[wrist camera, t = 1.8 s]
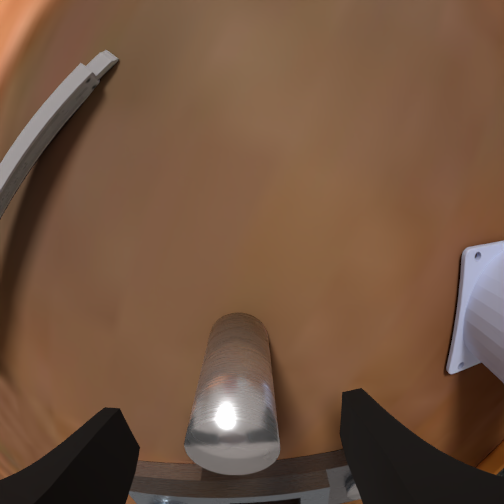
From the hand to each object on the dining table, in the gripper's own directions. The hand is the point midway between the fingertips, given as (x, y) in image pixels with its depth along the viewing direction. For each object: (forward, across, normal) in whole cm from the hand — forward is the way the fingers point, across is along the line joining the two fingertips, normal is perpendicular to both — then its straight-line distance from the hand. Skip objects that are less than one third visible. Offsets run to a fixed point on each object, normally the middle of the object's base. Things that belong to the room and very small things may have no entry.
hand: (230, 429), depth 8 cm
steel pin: (+6, 0, 0) cm, 6 cm away
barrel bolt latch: (+6, 0, +13) cm, 14 cm away
